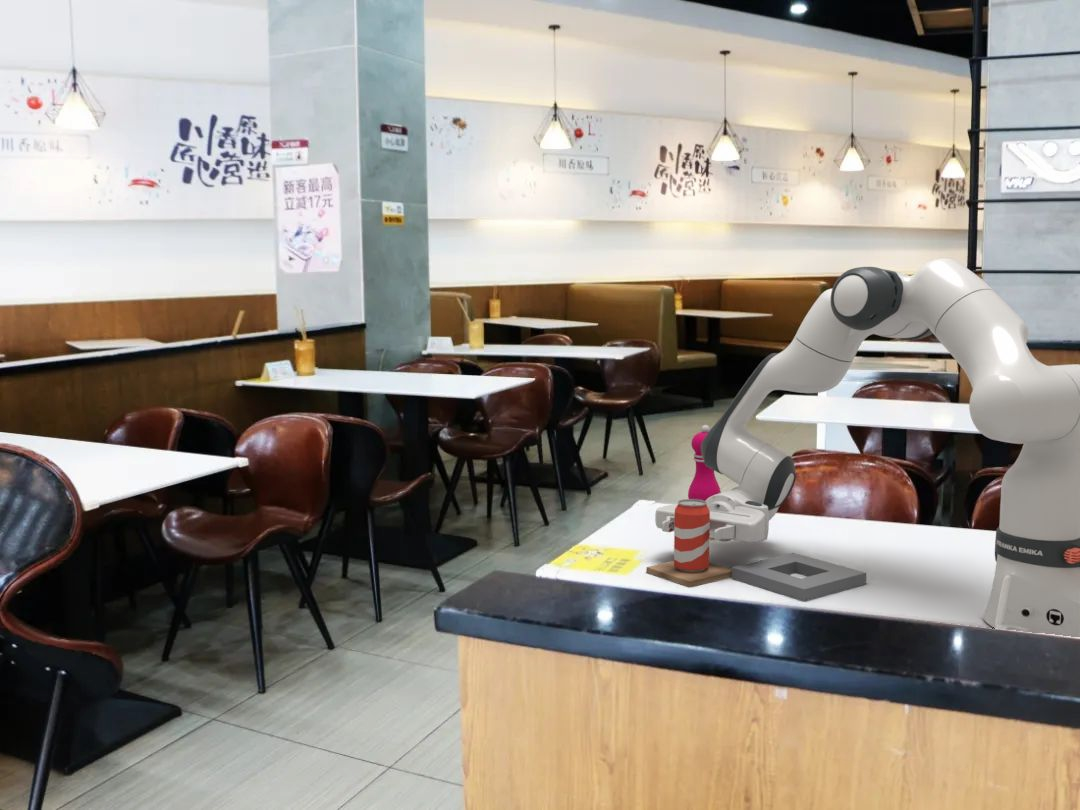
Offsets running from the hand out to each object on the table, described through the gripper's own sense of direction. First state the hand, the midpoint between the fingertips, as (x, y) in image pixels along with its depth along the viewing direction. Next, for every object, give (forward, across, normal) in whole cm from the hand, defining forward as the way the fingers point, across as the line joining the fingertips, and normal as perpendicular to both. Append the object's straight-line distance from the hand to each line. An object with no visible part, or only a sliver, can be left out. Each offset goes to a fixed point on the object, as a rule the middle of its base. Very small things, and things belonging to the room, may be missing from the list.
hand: (688, 531), depth 181 cm
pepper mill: (-44, -20, +8) cm, 49 cm away
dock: (-8, +17, +8) cm, 20 cm away
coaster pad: (-1, 0, +8) cm, 8 cm away
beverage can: (-1, 0, +7) cm, 7 cm away
